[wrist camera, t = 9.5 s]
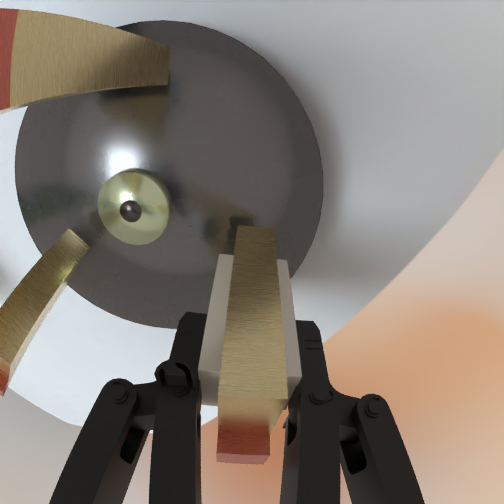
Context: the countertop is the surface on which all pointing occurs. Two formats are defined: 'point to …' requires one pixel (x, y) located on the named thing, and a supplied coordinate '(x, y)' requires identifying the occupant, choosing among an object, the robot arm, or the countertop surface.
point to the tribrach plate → (171, 174)
